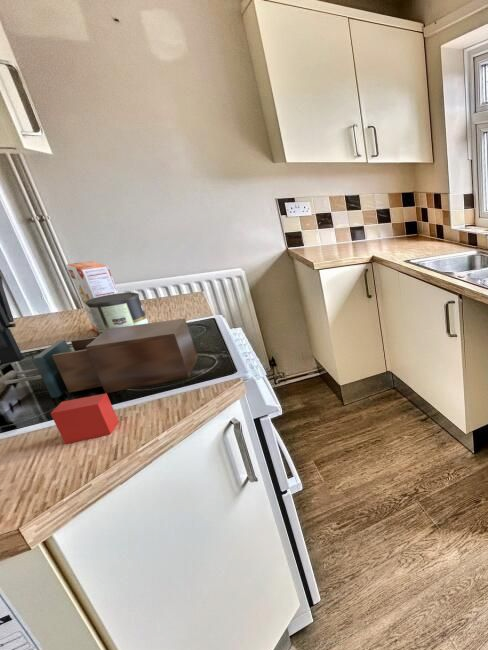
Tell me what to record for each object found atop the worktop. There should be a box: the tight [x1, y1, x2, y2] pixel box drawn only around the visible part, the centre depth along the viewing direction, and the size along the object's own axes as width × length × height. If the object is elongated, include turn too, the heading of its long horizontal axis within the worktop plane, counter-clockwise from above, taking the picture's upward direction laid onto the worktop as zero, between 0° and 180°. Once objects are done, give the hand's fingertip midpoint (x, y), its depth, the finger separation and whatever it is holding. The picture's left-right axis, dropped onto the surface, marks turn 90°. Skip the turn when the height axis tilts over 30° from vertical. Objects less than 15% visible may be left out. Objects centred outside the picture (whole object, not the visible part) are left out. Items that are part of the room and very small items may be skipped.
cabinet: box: [86, 318, 199, 394], centre depth 95 cm, size 15×13×11 cm
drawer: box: [0, 336, 103, 399], centre depth 89 cm, size 22×11×9 cm, turn 118°
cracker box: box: [65, 260, 119, 336], centre depth 120 cm, size 14×6×21 cm, turn 56°
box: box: [50, 392, 120, 445], centre depth 73 cm, size 6×4×6 cm
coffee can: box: [86, 292, 149, 335], centre depth 111 cm, size 10×10×14 cm
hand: (12, 360), depth 85 cm, fingers closed
